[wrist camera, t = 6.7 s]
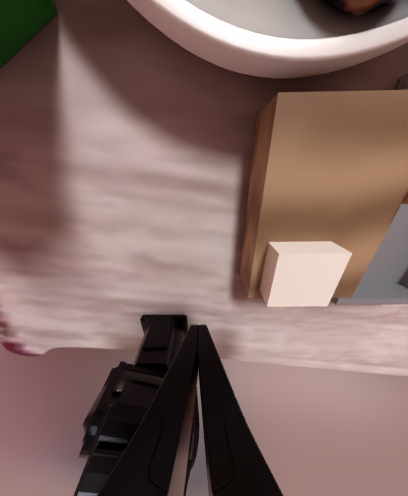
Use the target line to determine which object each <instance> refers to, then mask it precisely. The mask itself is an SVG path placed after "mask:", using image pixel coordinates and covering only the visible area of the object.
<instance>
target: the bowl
mask: <svg viewBox="0 0 408 496" xmlns="http://www.w3.org/2000/svg"><path fill="white" fill-rule="evenodd" d="M127 1H128V2H129V3H130V4H131V5H132V6H133V7H134V8H135V9H136V10H137V11H138V12H139V13H140V14H141V15H142V16H143V17H144V18H146V19H147V20H148V21H149V22H150V23H151V24H152V25H154V26H155V27H156V28H157V29H159V30H160V31H161V32H162V33H163V34H165V35H166V36H167V37H169V38H170V39H171V40H173V41H174V42H176V43H177V44H179V45H180V46H181V47H183V48H184V49H186V50H188V51H190V52H191V53H193V54H195V55H196V56H198V57H200V58H202V59H204V60H206V61H208V62H210V63H212V64H215V65H217V66H220V67H223V68H225V69H228V70H231V71H235V72H238V73H242V74H246V75H252V76H257V77H267V78H297V77H308V76H314V75H320V74H325V73H329V72H333V71H337V70H341V69H344V68H348V67H351V66H353V65H356V64H359V63H362V62H365V61H368V60H370V59H373V58H375V57H377V56H380V55H382V54H385V53H387V52H389V51H391V50H393V49H395V48H398V47H400V46H402V45H404V44H406V43H408V0H127Z"/></svg>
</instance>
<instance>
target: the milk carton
mask: <svg viewBox="0 0 408 496" xmlns="http://www.w3.org/2000/svg"><path fill="white" fill-rule="evenodd" d="M56 13H57V10H56V8H55V6H54V4H53V3H52V1H51V0H0V68H1V67H2V66H3V65H4V64H5V63H6V62H7V61H8V60H9V59H10V58H11V57H12V56H13V55H14V54H15V53H16V52H17V51H18V50H19V49H20V48H21V47H22V46H23V45H24V44H25V43H26V42H28V41H29V40H30V39H31V38H32V37H33V36H34V35H35V34H36V33H37V32H38V31H39V30H40V29H41V28H42V27H43V26H44V25H45V24H46V23H47V22H48V21H49V20H50V19H51V18H52V17H53V16H54V15H55V14H56Z"/></svg>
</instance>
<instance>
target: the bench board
mask: <svg viewBox="0 0 408 496" xmlns="http://www.w3.org/2000/svg"><path fill="white" fill-rule="evenodd" d="M407 193H408V90H373V91H324V92H278V93H277V94H276V95H275V96H274V98H273V99H272V100H271V101H270V102H269V103H268V104H267V105H266V106H265V107H264V108H263V109H262V110H261V111H260V112H259V114H258V115H257V117H256V126H255V135H254V145H253V154H252V163H251V173H250V182H249V191H248V201H247V210H246V219H245V228H244V238H243V247H242V256H241V266H240V276H241V279H242V282H243V285H244V288H245V291H246V294H247V297H248V298H263V297H262V294H261V292H260V285H261V280H262V274H263V269H264V264H265V258H266V253H267V248H268V242H316V241H331V242H333V243H335V244H337V245H339V246H340V247H342V248H344V249H346V250H348V251H349V252H351V253H352V255H351V257H350V259H349V261H348V264H347V266H346V268H345V270H344V272H343V274H342V277H341V279H340V281H339V283H338V285H337V287H336V289H335V292H334V294H333V296H332V298H347V297H352V295H353V293H354V291H355V289H356V288H357V286H358V284H359V282H360V280H361V278H362V276H363V275H364V273H365V271H366V269H367V267H368V265H369V263H370V262H371V260H372V258H373V256H374V254H375V252H376V251H377V249H378V247H379V245H380V243H381V241H382V239H383V238H384V236H385V234H386V232H387V230H388V228H389V226H390V225H391V223H392V221H393V219H394V217H395V215H396V213H397V212H398V210H399V208H400V206H401V204H402V202H403V200H404V199H405V197H406V195H407Z"/></svg>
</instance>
